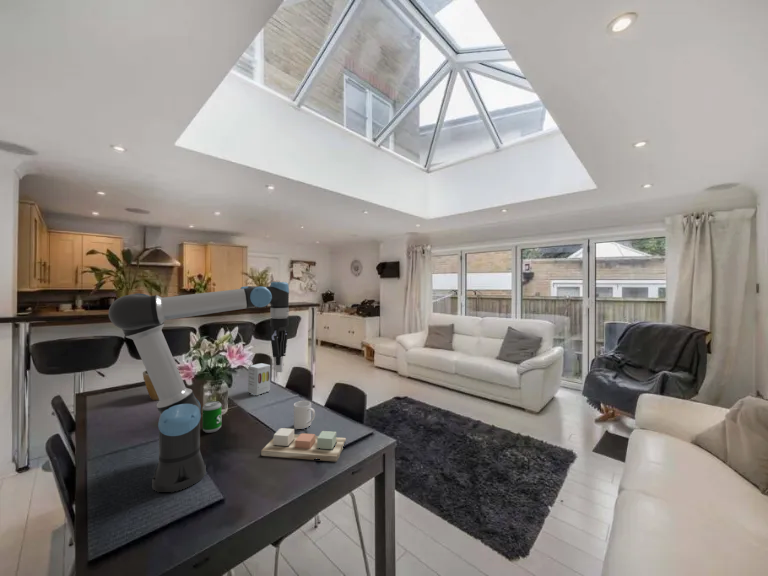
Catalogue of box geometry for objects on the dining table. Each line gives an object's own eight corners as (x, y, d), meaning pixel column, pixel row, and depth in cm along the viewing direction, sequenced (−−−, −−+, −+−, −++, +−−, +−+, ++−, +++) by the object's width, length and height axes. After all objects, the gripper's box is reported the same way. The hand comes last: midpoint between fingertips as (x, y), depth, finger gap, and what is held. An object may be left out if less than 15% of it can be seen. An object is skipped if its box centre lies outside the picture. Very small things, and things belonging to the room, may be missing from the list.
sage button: (332, 449, 120) (332, 439, 120) (317, 448, 121) (317, 438, 120) (336, 441, 126) (336, 431, 126) (322, 440, 126) (322, 430, 126)
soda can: (213, 434, 136) (213, 407, 135) (198, 432, 137) (198, 405, 137) (225, 426, 143) (225, 401, 143) (211, 425, 144) (211, 399, 144)
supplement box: (256, 396, 182) (256, 368, 181) (247, 393, 187) (247, 365, 186) (270, 392, 190) (270, 364, 189) (261, 389, 195) (261, 362, 195)
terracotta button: (309, 451, 121) (309, 441, 121) (295, 450, 122) (295, 440, 122) (315, 443, 127) (315, 434, 127) (301, 442, 128) (301, 433, 128)
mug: (290, 426, 143) (290, 404, 143) (303, 420, 150) (303, 399, 150) (307, 434, 136) (307, 410, 136) (320, 428, 143) (320, 405, 142)
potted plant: (162, 390, 191) (162, 350, 191) (189, 392, 188) (189, 351, 188) (134, 401, 173) (134, 357, 172) (163, 403, 170) (163, 358, 170)
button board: (336, 461, 115) (336, 456, 115) (261, 455, 119) (261, 450, 119) (345, 442, 129) (345, 437, 129) (278, 437, 133) (278, 433, 133)
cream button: (288, 446, 122) (288, 435, 122) (273, 444, 123) (273, 434, 123) (294, 438, 128) (294, 428, 128) (280, 437, 129) (280, 428, 129)
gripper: (281, 319, 127) (280, 376, 127) (294, 316, 140) (293, 368, 140) (263, 318, 128) (263, 375, 128) (278, 315, 140) (278, 367, 141)
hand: (279, 371), depth 134 cm, fingers closed
